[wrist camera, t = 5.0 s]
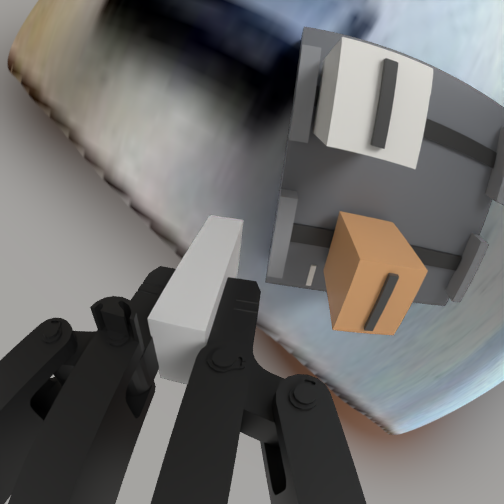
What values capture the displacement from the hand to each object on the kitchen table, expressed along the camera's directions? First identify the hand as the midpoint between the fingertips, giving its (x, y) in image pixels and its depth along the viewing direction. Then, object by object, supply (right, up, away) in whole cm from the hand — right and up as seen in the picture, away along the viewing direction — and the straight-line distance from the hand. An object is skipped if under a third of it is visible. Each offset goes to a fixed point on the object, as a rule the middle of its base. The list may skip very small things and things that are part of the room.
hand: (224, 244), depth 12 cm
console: (+9, +4, +2) cm, 11 cm away
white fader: (+6, +6, -2) cm, 9 cm away
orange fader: (+7, 0, +1) cm, 7 cm away
